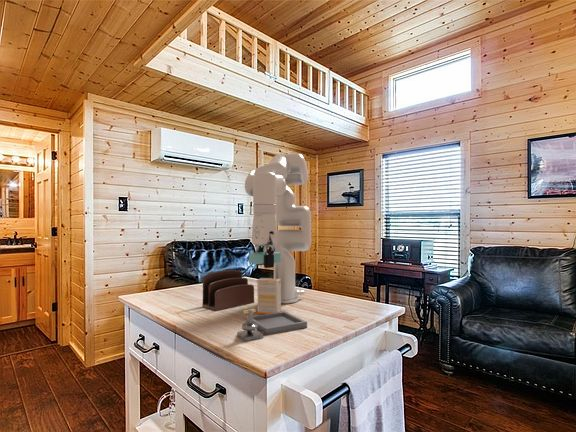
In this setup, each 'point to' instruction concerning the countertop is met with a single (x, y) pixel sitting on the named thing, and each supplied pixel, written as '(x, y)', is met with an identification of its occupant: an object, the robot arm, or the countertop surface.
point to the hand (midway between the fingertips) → (264, 265)
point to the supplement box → (269, 295)
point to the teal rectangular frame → (262, 257)
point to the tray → (278, 322)
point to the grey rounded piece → (249, 328)
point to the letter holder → (226, 290)
